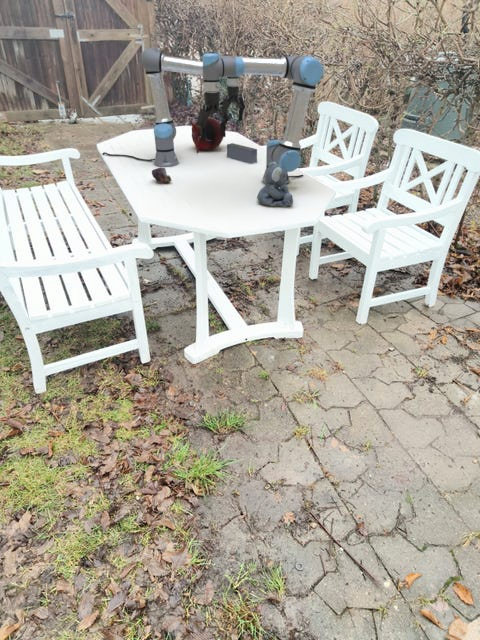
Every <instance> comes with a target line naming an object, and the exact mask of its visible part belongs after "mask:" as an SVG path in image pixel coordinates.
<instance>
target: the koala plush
mask: <svg viewBox="0 0 480 640" xmlns="http://www.w3.org/2000/svg"><path fill="white" fill-rule="evenodd" d="M288 176H289V175H288ZM288 176H287V175H286V174H285V171H284V170H283V169H282V167H281V166H280V165H277V164H276V163H275V162H272V163H269V167H268V171H267V174H266V184H264V186H263V187H262V188H260V190H259V191H258V193H257V196H256V200H257V201H258V203H260V204H263V205H264V206H267V207H281V208H282V207H285V208H286V207H291V206H292V205H293V204H294V196H293V193H291V192H290V190H289V187H288V184H285V185H284V183H285V182H286V181H287V180H288Z"/></svg>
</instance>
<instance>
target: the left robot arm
mask: <svg viewBox="0 0 480 640" xmlns="http://www.w3.org/2000/svg"><path fill="white" fill-rule="evenodd" d="M139 59H140V65H141V66H142V67H143V69H144V72H145V75H146V76H147V77H148V79H149V84H150V89H151V95H152V100H153V105H154V110H155V115H156V120H155V125H154V127H153V135H154V145H155V155H154V158H152V159H151V158H150V159H146V158H141V157H137V156H134V155H129V154H117V153H116V154H115V153H114V154H112V153H111V154H110V153H109V152H105V151H104V152H103V153H102V156H104V155H107V156H109V157H110V156H111V157H128V158H131V159H132V158H133V159H135V160H137V161H142V162H153V161H154V165H155V166H157V167H162V168H167V167H168V168H169V167H174V166H177V165H178V164H179V159H178V157H177V153H176V151H175V143H174V139H175V138H176V135H177V128H176V126H175V122H174V118H173V117H171V113H170V108H169V102H168V97H167V91H166V86H165V85H166V84H165V80H164V74H165V71H167V72H176V73H181V74H188V75H196V76H202V77H203V66H202V63H203V60H198V59H197V60H196V59H191V58H184V57H177V56H170V55H166V54H165V53H163V52H161V50H160V49H158V48H157V47H151V46H150V47H148V48H146V49H144V50H143V51H142V52H141V54H140V58H139ZM239 85H240V76H237V77H236V76H231V77H226V86H227V87H226V93H227V95H225V94H224V95H223V99H222V101H223V102H224V107H225V109H226V112H227V113H228V110H229V108H230V107H231V104H232V103H235V104H236V105H237V107H238V108H239V109H238V121H240V122H243V115H244V111H245V109H246V104H245V101H244V98H243V93H241V92H240V86H239ZM227 124H228V122H227V123H226V125H227Z"/></svg>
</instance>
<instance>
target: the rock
mask: <svg viewBox="0 0 480 640" xmlns="http://www.w3.org/2000/svg"><path fill="white" fill-rule="evenodd" d="M151 175H152V177H153V179H154V180H155V181H156V182H157V183H170V182H172V177H171V176H170V175H168V174H167V170H166V167H161V166H159V167H157V168H154V169H152V170H151Z"/></svg>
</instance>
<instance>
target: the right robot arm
mask: <svg viewBox="0 0 480 640" xmlns="http://www.w3.org/2000/svg"><path fill="white" fill-rule="evenodd" d="M202 61H203V63H202V66H203V76H202V79H203V83H202V84H203V91H204V92H203V99H204V102H205V103H204V104H203V103H202V104H200V105H199V112H198V116H197V120H196V122H197V123H196V122H195V123H196V126H198V127H200V134H201V141H203V142H206V128H205V127H204V126H205V124H206V122H207V120H208V118H210V116H211V114H216V116H217V117H218V118H219V120H220V122H219V124H220V128H221V136H222V137H223V138H226V137H227V136H226V134H227V133H226V130H227V124H228V121H230V118H229V115H228V111H227V112H226V109H225V107H224V102H223V100H221V93H220V92H219V91H221V89H220V88H221V87H220V78H225V77H226V78H227V77H231V76H236V77H237V76H239V77H241V76H243V75H250V76H251V75H255V76H278V77H280V79H289V80H291V81H292V84H291V85H292V88H293V93H292V98H291V101H290V107H289V112H288V116H287V120H286V125H285V129H284V134H283V137H282V139H271V140H268V141H267V142H266V147H265V148H266V157H265V158H266V160H265V171H264V173H263V177H262V183H263V184H264V185H266V174H267V171H268V167H269V163H272V162H275V163H276V164H277V165H280V166H281V167H282V169H283V170H284V171H285V174H286V175H287V176H288V180H287V181H286V182H285V183H284V185H288V184H289V183H290V178H301V177H304V174H299V175H289V173H291V172H295V170H297V169H298V168H299V167H300V165H301V163H302V155H301V153H300V152H301V148H302V146H301V144H300V141H301V140H300V139H301V136H302V131H303V127H304V123H305V120H306V115H307V111H308V107H309V103H310V98H311V94H312V93H314V91H315V90H316V88H317V85H318V83H320V82H321V80H322V79H323V74H324V68H323V65H322V62H321V61H320V60H319V59H318V58H317V57H313V56H308V55H290V56H289V55H285V56H283V55H282V56H281V57H280V58H277V57H258V56H257V57H255V56H254V57H253V56H232V55H231V56H230V55H229V56H228V55H223V54H222V55H219V54H218V53H203V55H202ZM226 123H227V124H226Z"/></svg>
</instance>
